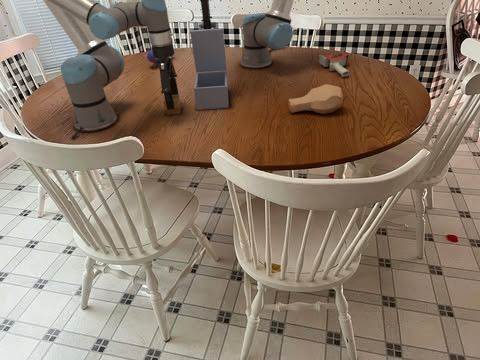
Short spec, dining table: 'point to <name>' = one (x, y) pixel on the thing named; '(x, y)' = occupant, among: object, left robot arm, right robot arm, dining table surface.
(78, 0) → the left robot arm
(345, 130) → the dining table surface
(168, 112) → the block
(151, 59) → the toy
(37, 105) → the dining table surface
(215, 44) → the lid
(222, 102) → the chest
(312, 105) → the squash
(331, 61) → the grey red-topped piece
